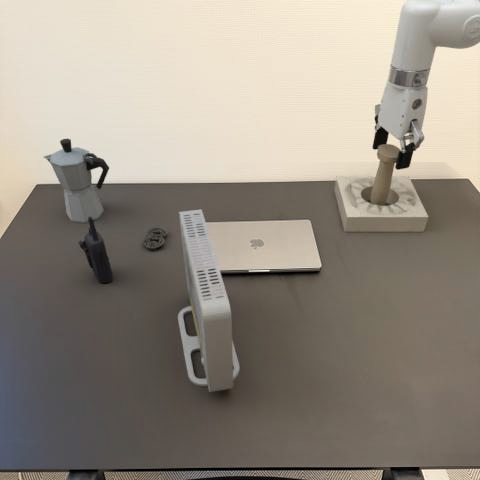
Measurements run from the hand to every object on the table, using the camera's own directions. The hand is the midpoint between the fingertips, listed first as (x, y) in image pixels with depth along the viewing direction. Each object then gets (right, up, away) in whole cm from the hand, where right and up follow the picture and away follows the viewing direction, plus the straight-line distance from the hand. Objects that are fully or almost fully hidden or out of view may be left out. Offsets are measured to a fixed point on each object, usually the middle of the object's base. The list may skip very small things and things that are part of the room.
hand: (390, 157), depth 104 cm
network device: (-39, -40, -20) cm, 59 cm away
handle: (0, -10, +10) cm, 14 cm away
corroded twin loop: (-52, -18, +1) cm, 55 cm away
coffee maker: (-69, -10, +9) cm, 71 cm away
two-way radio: (-62, -27, -7) cm, 68 cm away
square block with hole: (0, -9, +9) cm, 13 cm away
